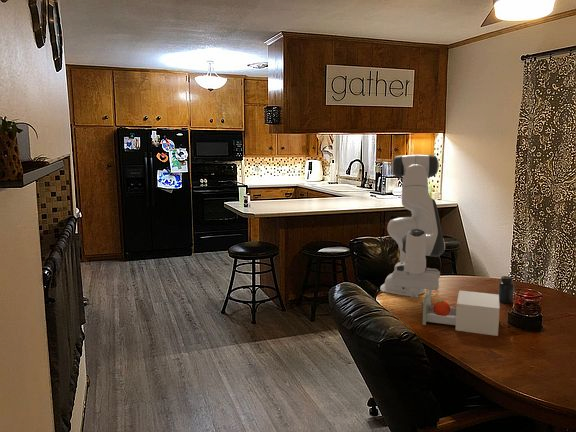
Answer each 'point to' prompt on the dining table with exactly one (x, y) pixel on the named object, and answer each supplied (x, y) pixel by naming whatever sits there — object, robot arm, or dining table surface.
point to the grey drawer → (432, 317)
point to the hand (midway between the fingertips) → (414, 297)
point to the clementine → (441, 308)
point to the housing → (477, 313)
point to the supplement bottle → (506, 290)
